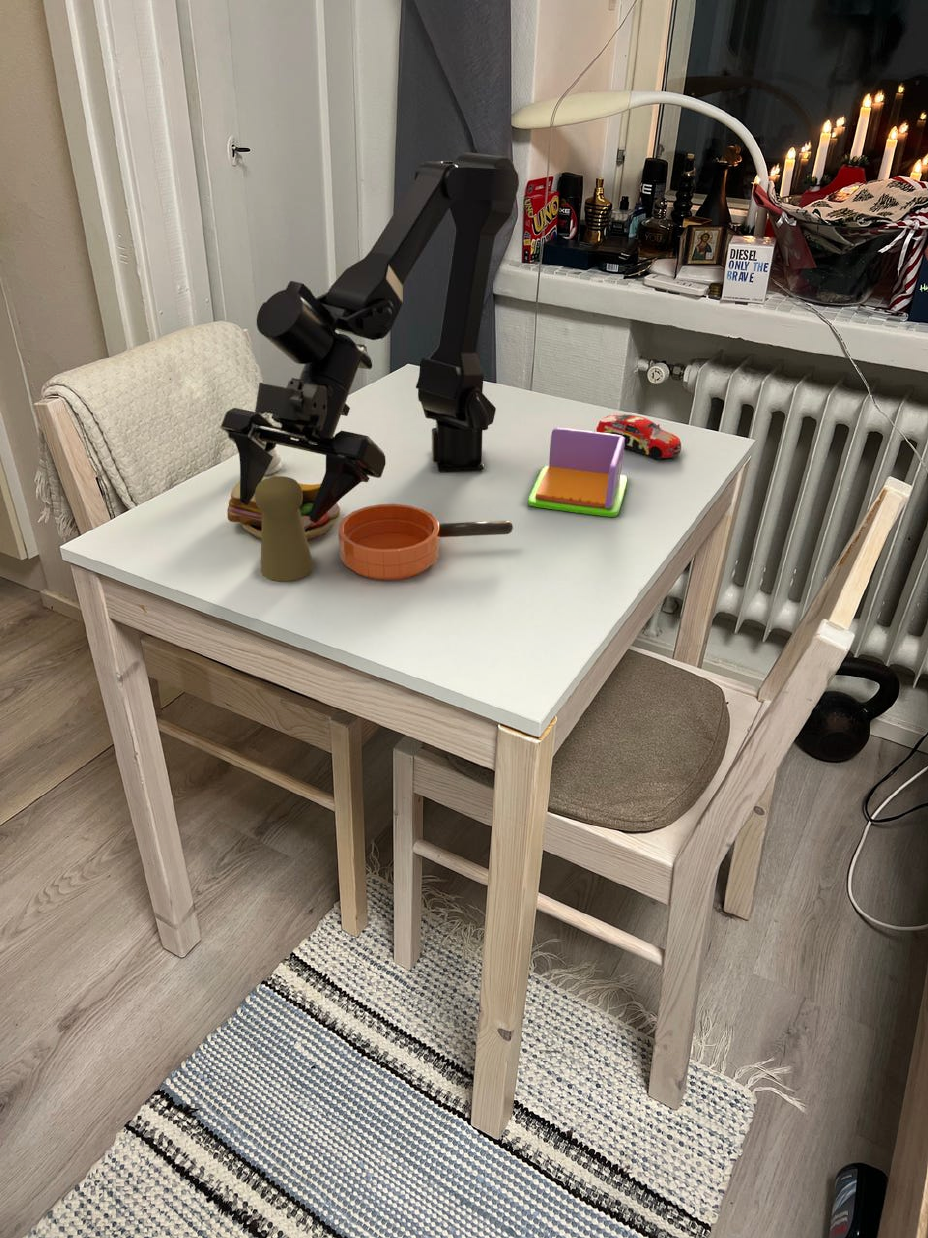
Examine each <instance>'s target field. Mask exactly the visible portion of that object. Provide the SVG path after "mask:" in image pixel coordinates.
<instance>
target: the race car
mask: <svg viewBox="0 0 928 1238" xmlns="http://www.w3.org/2000/svg"><path fill="white" fill-rule="evenodd" d="M660 426H661V425H660V424H656V422H653V421H652V420H650V419H648V418H645V417H642V416H638V415H634V414H626V413H625V414H609V415H606V416H604V417H603V418H601V419H600V420H599V422H598V425H597V426H596V431H595V432H600V433H609V434H616V435H621V436H623V437H624V438H625V444H624V449H629V450H632V451H635V452H638V453H642V454H644V455H650V457H651V458H652V459H653V460H657V461H658V460H660V459H664V458H673V457H675V456H679V454H680V453H681V450H682V442H681V440H680V438H679V437H678V436H677V435H675V434H674V433H672V432H669V431H667V430H665V429H662V428H661V427H660Z"/></svg>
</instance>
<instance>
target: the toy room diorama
mask: <svg viewBox="0 0 928 1238" xmlns="http://www.w3.org/2000/svg"><path fill="white" fill-rule="evenodd" d="M624 444H625V438H624V437H623V436H621V435H616V434H609V433H600V432H596V431H591V430H582V429H573V428H566V427H565V428H564V427H555V428H553V429H552V430H551V436H550V445H549V446H550V447H549V462H548V465H545V466H543V467H542V469H541V471H540V473H539V474H538V476H537V478H536V480H535V483H534V485H533V487H532V489H531V492H530V494H529V496H528V499H527V503H528V505H529V506H530V507H535V508H540V509H547V510H553V511H554V510H555V511H563V512H569V513H577V514H582V515H583V514H584V515H590V516H591V515H592V516H599V517H607V518H614V517H615V518H616V517H617V516H618V515H619V512H620V510H621V507H622V503H623V499H624V496H625V493H626V490H627V485H628V477H627V476H626V475H624V474H622V469H623V463H624V454H625V447H624Z"/></svg>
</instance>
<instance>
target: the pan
mask: <svg viewBox="0 0 928 1238" xmlns="http://www.w3.org/2000/svg"><path fill="white" fill-rule="evenodd" d="M438 524H439V520H438V519H437V518H436V516H434V515H433V514H432V513H431V512H429V511H427V510H425V509H423V508H421V507H417V506H413V505H411V504H404V503H403V504H402V503H379V504H372V505H367V506H363V507H361V508H358V509H356V510H353V511H351V512H350V513H348V514H347V515H345V516H344V517H343V518H342V519H341V521H340V523H339V524H338V542H339V556H340V557H339V558H340V560H341V561H342V563H343V565H345V566H346V567H347V568H349V569H351V570H352V571H353V572H354V573H357V574H358V575H360V576H363V577H366V578H369V579H375V580H384V581H389V580H390V581H392V580H402V579H406V578H411V577H415V576H417V575H419V574H422V573H423V572H425V571H426V570H427V569H429V568H430V567H431V566H432V565H434V563H435V562H436V561H437V559H438V557H439V555H440V537H439V525H438ZM433 527H434V530H433V532H432V528H433Z"/></svg>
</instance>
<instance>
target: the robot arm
mask: <svg viewBox="0 0 928 1238" xmlns="http://www.w3.org/2000/svg"><path fill="white" fill-rule="evenodd" d="M519 187H520V174H519V172H518V171H517V169H516V167H515V164H514V162H513V161H512V159H511V158H509V157H507V156H499V155H491V154H484V153H475V152H463V153H461V154H460V155H459V156H458V157H457V158H456V160H438V161H431V160H428V161H426V162H423V163H421V164H420V165H419V166H418V167H417V168H416V171H415V174H414V180H413V183H412V184H411V186H410V187H409V189H408V190H407V192H406V193H405V195H404V197H403V198H402V200H401V202H400V203H399V205H398V206H397V208H396V209H395V211H394V213H393V214H392V216H391V217H390V219H389V221H388V222H387V224H386V225H385V227H384V229H383V230H382V232H381V233H380V235H379V236H378V238H377V239H376V241H375V243H374V245H373V246H372V248H371V250H370V251H369V252H368V253H367V255H365V257H363V258H362V259H361V260H359V261H357V262H356V263H354V264H352V265H350V266H348V267H347V268H346V269H345V270H344V271H343V272H342V273H341V275H339V277H338V278H337V279H336V280H335V282H334V283H333V284H332V285H331V286H330V287H329V289H328V291H327V292H325V293H323V294H321V295H319V296H317V297H316V296H315V295H314V294H313V292H312V291H311V289H310V288H309V287H308V286H307V285H306V284H305V283H302V282H299V281H295V280H290V281H289V282H288V284H287V286H286V288H285V289H283V290H279V291H277V292H276V293H274V294H272V295H271V296H270V297H269V298H268V299H267V300H266V301H264V302H263V303H262V304H261V305H260V308H259V310H258V312H257V314H256V315H257V316H256V327H257V330H258V331H259V334H260V335H262V336H263V337H264V338H265V339H266V340H268V341H269V342H270V343H271V344H272V345H274V346H275V347H276V348H277V349H278V350H280V351H281V352H282V353H283V354H284V355H285V356H286V357H288V358H289V359H290V360H291V361H293V362H294V363H295V364H297V365H303V367H302V370H301V372H300V376H299V377H298V378H294V377H291V379H290V380H289V381H288V383H287V386H286V387H285V386H279V385H275V384H270V383H265V382H263V383H262V382H259V383H258V389H257V397H256V403H255V408H254V409H255V410H254V411H252V410H246V409H242V408H238V407H233V408H231V409H229V410H227V411H226V412H225V414H224V416H223V419H222V422H221V424H220V426H219V428H220V429H221V430H222V431H224V432H225V433H227V436H228V437H227V438H228V439H229V440H230V441H232V442H233V443H234V444H235V446H236V449H237V452H238V457H239V458H238V459H239V481H240V502H241V503H242V504H243V505H248V504H249V502H250V501H251V499H252V498H253V496H254V494H255V490H256V487H257V485H258V484H259V483H260V482H261V480H262V478H263V477H265V476H266V475H265V473H266V471H267V469H268V467H269V465H270V463H271V461H272V459H273V456H271V455H270V454H269V453H268V452H269V451H270V450H272V449H274V448H275V449H276V447H277V445H278V446H279V445H280V446H283V447H287V448H288V447H289V448H293V449H297V450H300V451H306V452H310V453H314V454H319V455H323V456H324V455H325V472H324V475H323V478H322V480H321V482H320V484H321V485H320V488H319V491H318V493H317V496H316V498H315V501H314V504H313V506H312V510H311V514H310V518H309V519H310V521H311V522H313V523H317V522H318V521H319V520H320V519H321V518H322V517H323V516H324V515H325V514H326V513H327V512H328V511H329V510H330V509H331V508H332V507H333V506H334V505H335V504H336V503H337V504H338V503H339V501H340V500H341V499H342V498H343V497H345V496H346V495H347V494H348V493H350V491H352V490H353V489H355V487H357V486H358V485H359V484H361V483H369V481H370V477H373V478H377V479H379V478H382V475H383V473H384V469H385V467H386V463H387V461H386V455H385V453H384V451H383V450H382V449H381V448H380V447H379V446H378V445H377V444H376V443H375V442H374V441H373V440H372V438H371V437H370V436H369V435H365V434H360V433H355V432H352V431H351V432H350V431H346V430H340V431H339V432H337V433H335V432H336V430H337V428H338V424H339V422H340V418H341V416H346V417H348V415H349V413H350V410H351V407H350V406H349V405H348V404H347V400H348V397H349V395H350V392H351V389H352V386H353V383H354V381H355V378H356V375H357V372H358V369H364V370H371V369H372V368H373V362H372V361H373V360H372V358H371V357H370V355H369V353H368V349H367V345H366V344H359V343H356V342H355V341H354V340H353V339H352V338H351V337H349V336H348V335H346V334H349V335H352V336H357V337H359V338H364V339H367V340H371V341H377V340H383V339H384V338H386V336H387V335H388V334H389V333H390V332H391V330H392V328H393V326H394V324H395V322H396V319H397V317H398V316H399V313H400V311H401V309H402V306H403V303H404V300H403V299H404V289H403V288H404V284H405V281H406V279H407V278H408V276H409V274H410V272H411V271H412V269H413V268H414V266H415V264H416V263H417V261H418V259H419V258H420V256H421V255H422V253H423V251H424V250H425V248H426V246H427V245H428V243H429V242H430V240H431V239H432V237H433V235H434V233H435V232H436V230H437V229H438V227H439V225H440V224H441V223H442V221H443V219H444V217H445V216H446V214H447V213H448V211H449V212H450V215H451V218H452V221H453V224H454V227H455V234H454V241H453V249H452V254H451V259H450V260H451V261H450V267H449V274H448V280H447V286H446V287H447V288H446V294H445V302H444V308H443V314H442V322H441V328H440V334H439V340H438V341H439V342H438V346H437V347H436V349H434V351H433V353H432V354H431V355H430V356H429V357H428V358H427V357H422V358H421V360H420V362H419V373H418V380H417V382H416V384H415V389H417V397H418V398H417V399H418V402H420V404H421V407H422V411H423V414H424V417H425V418H426V419H429V420H430V419H431V420H434V421H435V427H432V428H431V457H432V461H433V463H435V464H436V469H437V471H438V472H460V471H461V472H462V471H482V470H484V469H485V465H484V461H483V432H484V431H487V430H489V426H491V425H493V423H494V419H495V415H496V411H497V407H496V406H494V404H493V403H492V402H491V401H490V400H489V399H488V398H487V396H486V395H485V394H484V393H483V389H484V372H483V369H482V366H481V363H480V360H479V357H478V355H477V348H478V341H479V335H480V329H481V322H482V317H483V312H484V311H483V310H484V306H485V305H484V304H485V298H486V292H487V286H488V280H489V275H490V268H491V262H492V256H493V250H494V245H495V244H494V243H495V239H496V236H497V234H498V233H499V231H500V230H501V229H502V228H503V227H504V226H505V224H506V222H507V221H508V220H509V218H510V217H511V215H512V213H513V209H514V205H515V201H516V198H517V194H518V191H519ZM337 331H339V332H342V333H338V332H337ZM345 333H346V334H345ZM259 413H261V414H264V415H265V413H268V414H270V415H271V416H270V418H271V419H272V420H273V422H276V423H279V424H280V425H281V427H280V426H275V425H273V423H272V424H271V423H269V422H268V421H267V420H266V419H265V418H264V417H263V416H261V415H260V414H259Z"/></svg>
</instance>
